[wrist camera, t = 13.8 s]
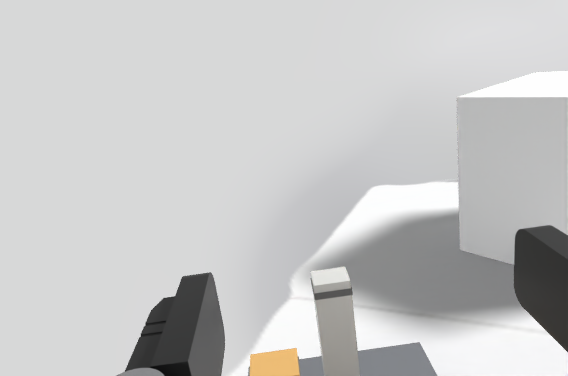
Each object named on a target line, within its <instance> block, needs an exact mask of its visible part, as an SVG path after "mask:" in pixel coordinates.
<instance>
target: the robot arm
mask: <svg viewBox="0 0 568 376" xmlns="http://www.w3.org/2000/svg"><path fill="white" fill-rule="evenodd" d="M514 288H515V293H516V296H517V298H518V301H519V302H520V304H521V305H522V307H523V308H524V309H525V310H526V311H527V312H528V313H529V314H530V315H531V316H532V317H533V318H534V319H535V320H536V321H537V322H538V323H539V324H540V325H541V326H542V327H543V328H544V329H545V330H546V331H547V332H548V333H549V334H550V335H551V336H552V337H553V338H554V339H555V340H556V341H557V342H558V343H559V344H560V345H561V346H562V347H563V348H564V349H565V350H566V351H567V352H568V235H566V234H565V233H563V232H562V231H560V230H558V229H557V228H555V227H553V226H551V225H545V226H538V227H531V228H524V229H519V230H518V231H517V233H516V235H515V251H514ZM224 350H225V335H224V326H223V321H222V316H221V311H220V306H219V301H218V296H217V292H216V286H215V282H214V278H213V275H212V273H203V274H196V275H190V276H183V277H182V279H181V282H180V285H179V287H178V290H177V293H176V296H175V297H168V298H164V299H163V300H162V301H160V302H159V303H158V304H157V305H156V306H155V307H154V308H153V309H152V310H151V312H150V314H149V317H148V319H147V322H146V326H145V327H144V329H143V330H142V333H141V337H140V338H139V340H138V342H137V345H136V347H135V349H134V352H133V354H132V356H131V358H130V361H129V363H128V365H127V368H126V370H125V372H123V373H121V374H119V375H117V376H221V373H222V365H223V358H224Z"/></svg>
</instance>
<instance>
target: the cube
mask: <svg viewBox="0 0 568 376" xmlns="http://www.w3.org/2000/svg"><path fill="white" fill-rule="evenodd" d="M457 135H458V136H457V140H458V188H459V236H460V250H462V251H465V252H469V253H473V254H476V255H480V256H483V257H487V258H491V259H494V260H498V261H501V262H505V263H509V264H512V265H514V251H515V235H516V233H517V231H518V230H519V229H524V228H531V227H538V226H545V225H551V226H553V227H555V228H557V229H558V230H560V231H562V232H563V233H565V234H566V235H568V71H556V72H535V73H532V74H529V75H526V76H523V77H520V78H516V79H513V80H510V81H507V82H503V83H500V84H497V85H494V86H491V87H488V88H485V89H482V90H478V91H475V92H472V93H469V94H466V95H462V96H459V97H457Z"/></svg>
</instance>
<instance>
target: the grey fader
mask: <svg viewBox="0 0 568 376" xmlns="http://www.w3.org/2000/svg"><path fill="white" fill-rule="evenodd" d="M311 283H312V289H313V294H314V302H315V309H316V317H317V325H318V332H319V340H320V348H321V355H322V363H323V371H324V376H360V370H359V360H358V351H357V341H356V331H355V321H354V311H353V301H352V295H353V294H352V287H351V282H350V278H349V276H348V273H347V270H346V268H345V266H344V267H337V268H330V269H323V270H316V271H311Z"/></svg>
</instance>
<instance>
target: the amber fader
mask: <svg viewBox="0 0 568 376" xmlns="http://www.w3.org/2000/svg"><path fill="white" fill-rule="evenodd" d="M250 376H301V372H300V364H299V357H298V356H297V349H296V348H293V349H286V350H279V351H272V352H265V353H258V354H251V356H250Z"/></svg>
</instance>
